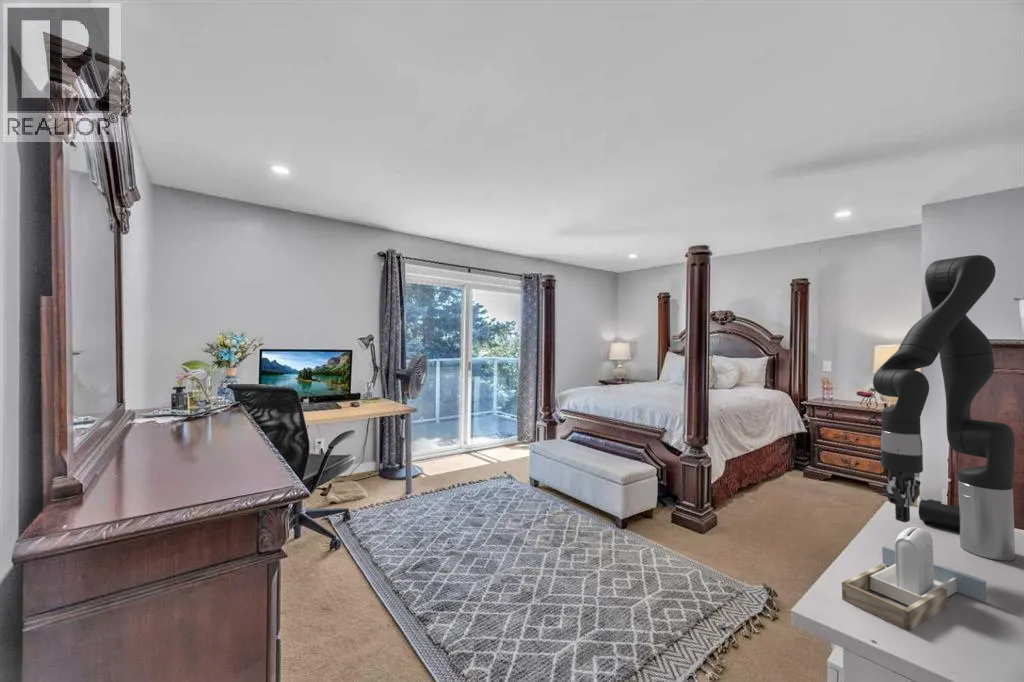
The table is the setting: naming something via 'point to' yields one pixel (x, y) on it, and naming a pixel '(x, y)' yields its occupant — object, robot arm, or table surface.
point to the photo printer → (914, 560)
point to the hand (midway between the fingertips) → (902, 520)
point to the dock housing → (904, 617)
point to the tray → (942, 578)
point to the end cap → (939, 514)
